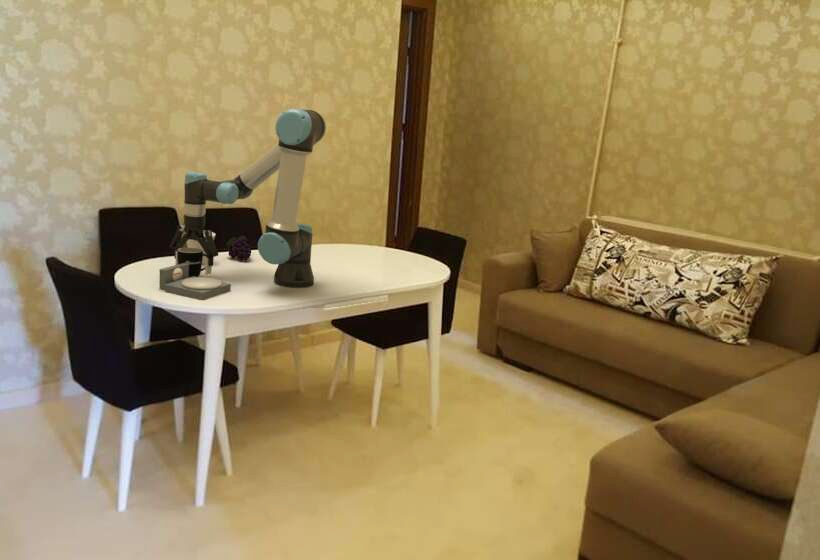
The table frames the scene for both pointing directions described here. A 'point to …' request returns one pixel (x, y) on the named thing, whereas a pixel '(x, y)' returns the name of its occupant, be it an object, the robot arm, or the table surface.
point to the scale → (190, 283)
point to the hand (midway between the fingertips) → (193, 270)
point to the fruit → (239, 248)
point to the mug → (191, 259)
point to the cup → (198, 246)
